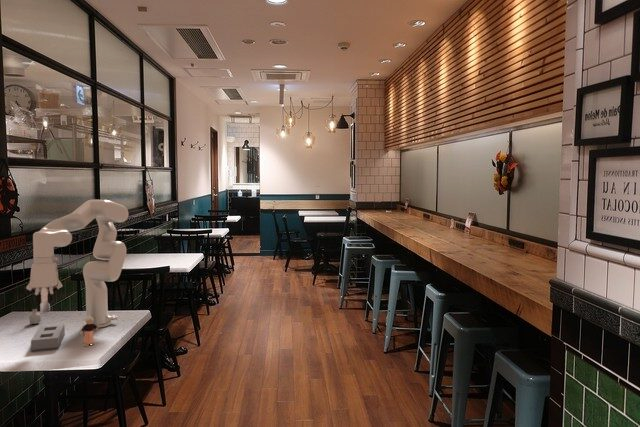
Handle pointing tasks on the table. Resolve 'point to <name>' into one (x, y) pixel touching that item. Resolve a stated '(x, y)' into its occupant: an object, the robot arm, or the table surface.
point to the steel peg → (44, 300)
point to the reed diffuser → (34, 313)
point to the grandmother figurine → (88, 331)
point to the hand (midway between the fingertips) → (44, 302)
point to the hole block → (48, 338)
